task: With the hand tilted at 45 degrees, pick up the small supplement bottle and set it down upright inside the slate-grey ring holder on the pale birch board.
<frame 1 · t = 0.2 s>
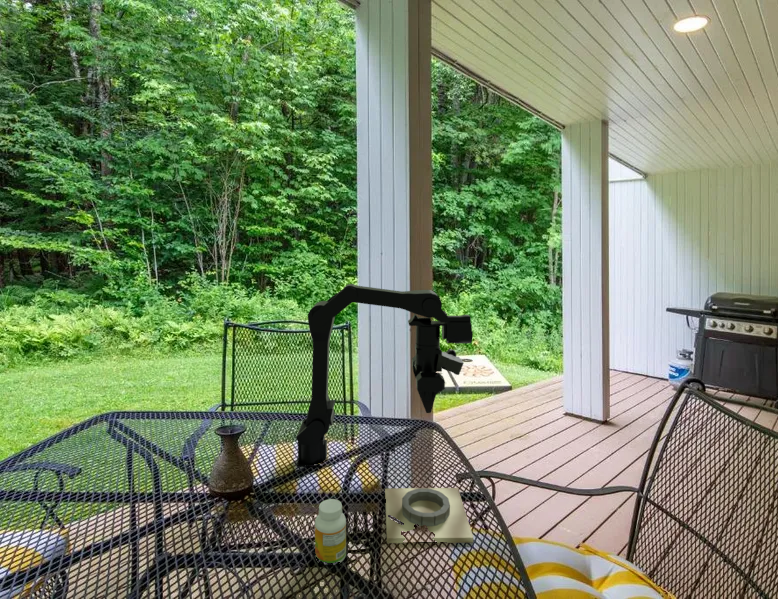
hand: (426, 405, 110), 15 cm above the table, tool pointing down, fingers open, 9 cm apart
supplement bottle: (330, 556, 79), on the table
ring holder: (425, 515, 91), on the table
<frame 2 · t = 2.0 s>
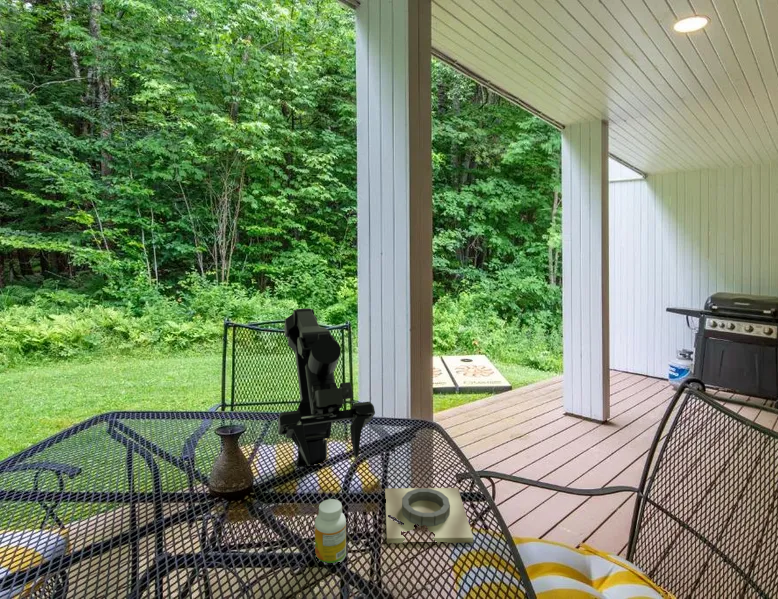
hand: (333, 461, 85), 13 cm above the table, tool tilted 40°, fingers open, 9 cm apart
nothing on the table moved.
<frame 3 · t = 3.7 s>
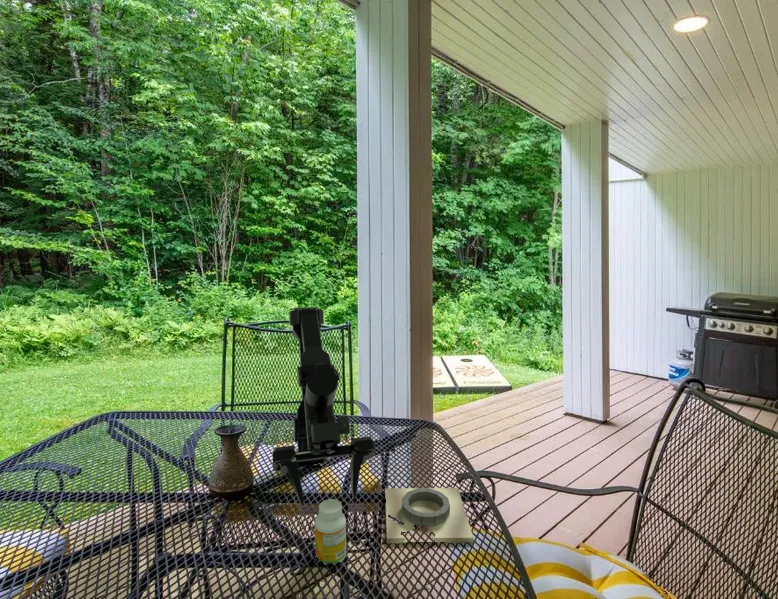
hand: (328, 501, 80), 9 cm above the table, tool tilted 45°, fingers open, 9 cm apart
nothing on the table moved.
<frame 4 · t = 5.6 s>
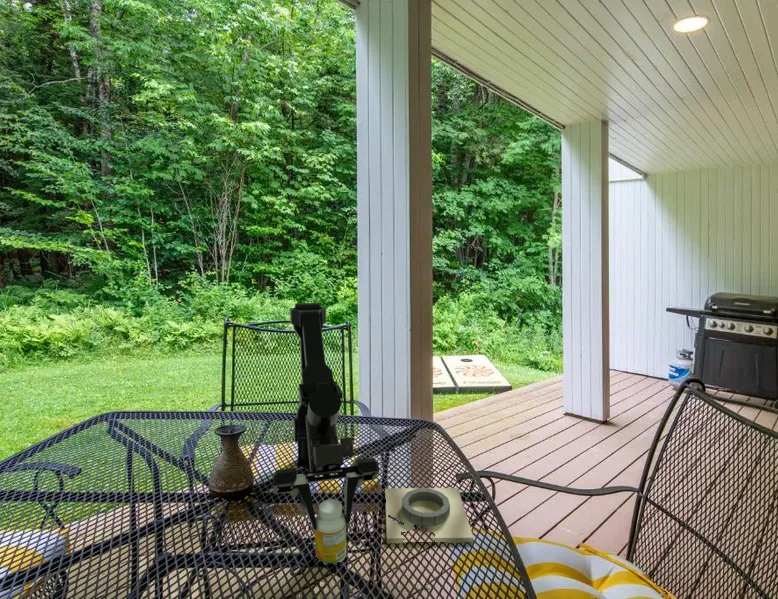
hand: (331, 526, 77), 7 cm above the table, tool tilted 45°, fingers closed on supplement bottle, 5 cm apart
supplement bottle: (330, 556, 79), on the table, touching gripper
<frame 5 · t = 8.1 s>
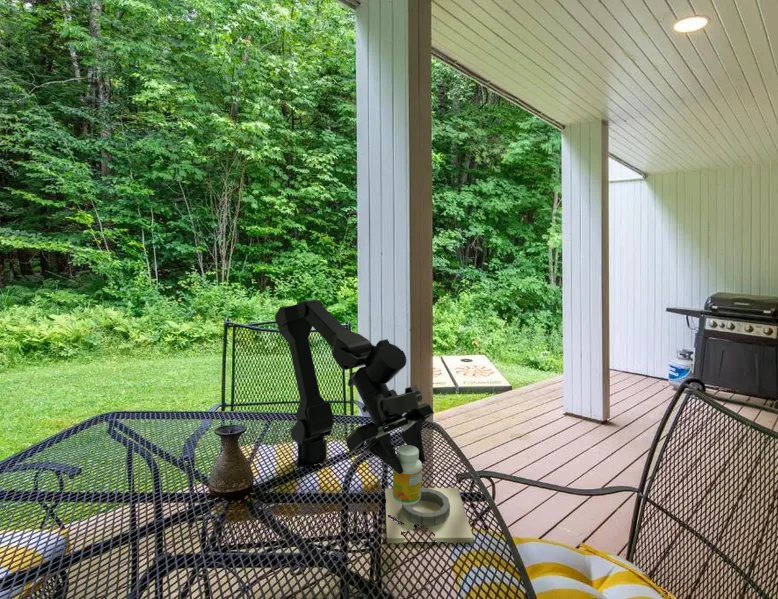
hand: (412, 467, 84), 13 cm above the table, tool tilted 45°, fingers closed on supplement bottle, 5 cm apart
supplement bottle: (406, 498, 86), point 6 cm above the table, touching gripper
when the fingers open (9 cm above the table, at t = 10.5 s): supplement bottle drops 1 cm, resting on ring holder.
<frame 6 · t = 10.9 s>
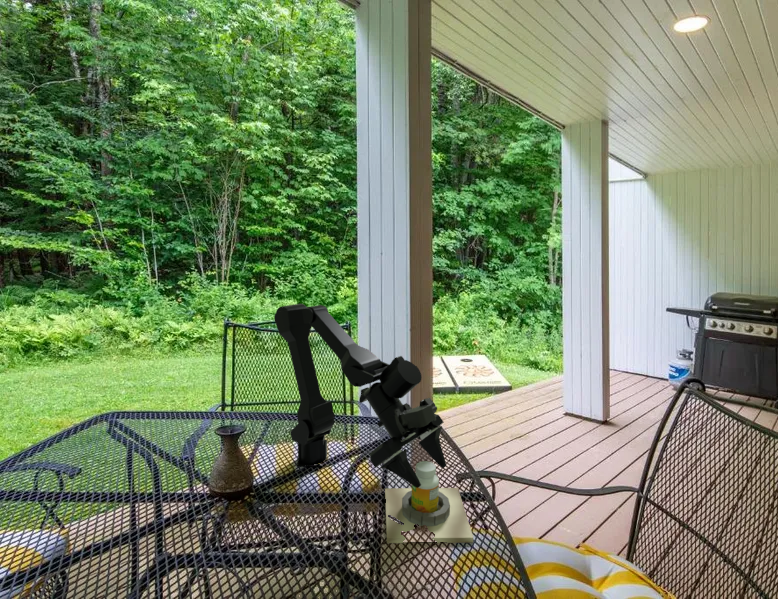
hand: (432, 476, 88), 9 cm above the table, tool tilted 45°, fingers open, 9 cm apart
supplement bottle: (424, 511, 91), point 1 cm above the table, touching ring holder
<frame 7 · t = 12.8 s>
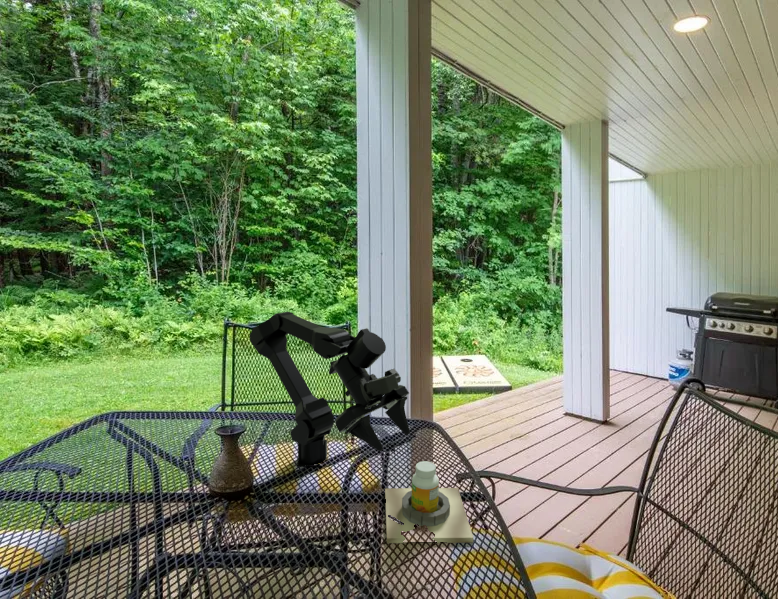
hand: (395, 441, 93), 13 cm above the table, tool tilted 45°, fingers open, 9 cm apart
nothing on the table moved.
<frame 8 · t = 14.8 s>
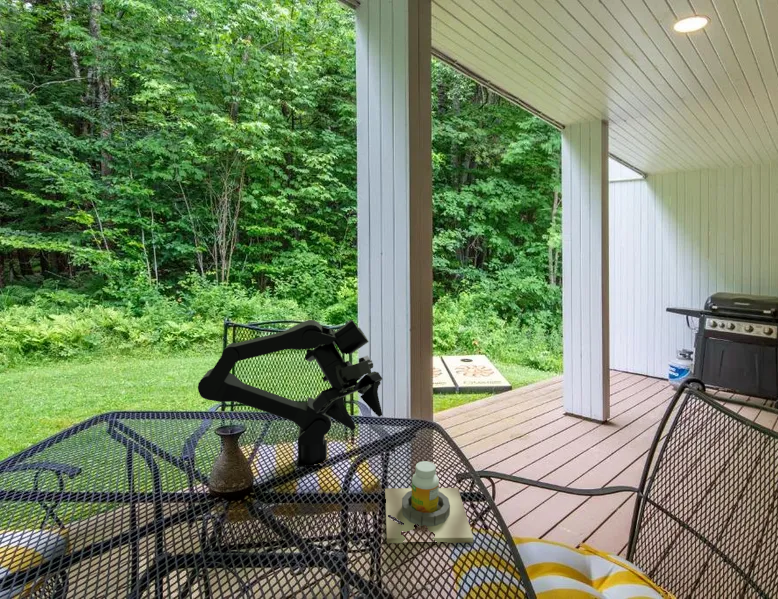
hand: (368, 422, 102), 14 cm above the table, tool tilted 45°, fingers open, 9 cm apart
nothing on the table moved.
at the end: supplement bottle 0.2 cm off-centre on the ring holder, point 0.8 cm above the ring holder's base; supplement bottle tilted 0°; the gripper is holding nothing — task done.
